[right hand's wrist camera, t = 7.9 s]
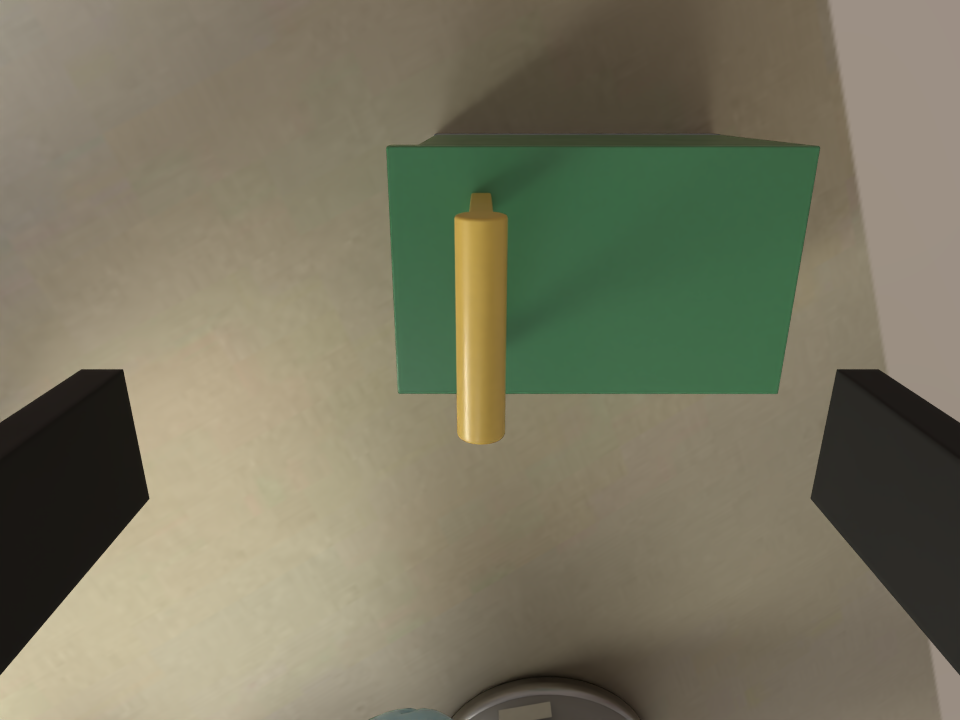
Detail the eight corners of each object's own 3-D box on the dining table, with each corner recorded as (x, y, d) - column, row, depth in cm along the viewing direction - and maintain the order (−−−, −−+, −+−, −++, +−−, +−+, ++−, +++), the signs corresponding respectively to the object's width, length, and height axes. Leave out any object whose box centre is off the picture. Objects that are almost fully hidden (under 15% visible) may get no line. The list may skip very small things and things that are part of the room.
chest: (439, 311, 36) (424, 385, 27) (435, 133, 33) (416, 144, 23) (692, 311, 36) (769, 385, 27) (713, 133, 33) (809, 144, 23)
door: (400, 385, 27) (370, 487, 20) (389, 144, 23) (348, 161, 16) (769, 385, 27) (875, 487, 19) (809, 144, 23) (954, 161, 16)
